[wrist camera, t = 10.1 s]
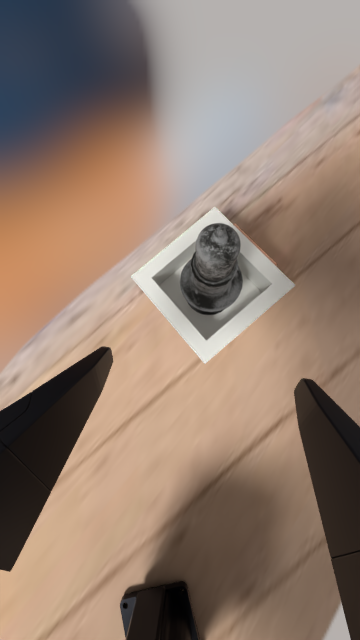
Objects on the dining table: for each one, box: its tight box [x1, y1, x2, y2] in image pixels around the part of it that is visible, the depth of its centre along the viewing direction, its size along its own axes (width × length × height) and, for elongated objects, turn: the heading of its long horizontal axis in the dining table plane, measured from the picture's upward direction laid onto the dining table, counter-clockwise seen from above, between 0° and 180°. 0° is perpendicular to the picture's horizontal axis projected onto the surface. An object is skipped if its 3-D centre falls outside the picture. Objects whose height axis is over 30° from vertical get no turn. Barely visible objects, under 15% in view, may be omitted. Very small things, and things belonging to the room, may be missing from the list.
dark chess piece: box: [180, 223, 243, 315], centre depth 17 cm, size 6×6×12 cm
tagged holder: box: [131, 207, 295, 364], centre depth 22 cm, size 11×12×4 cm
